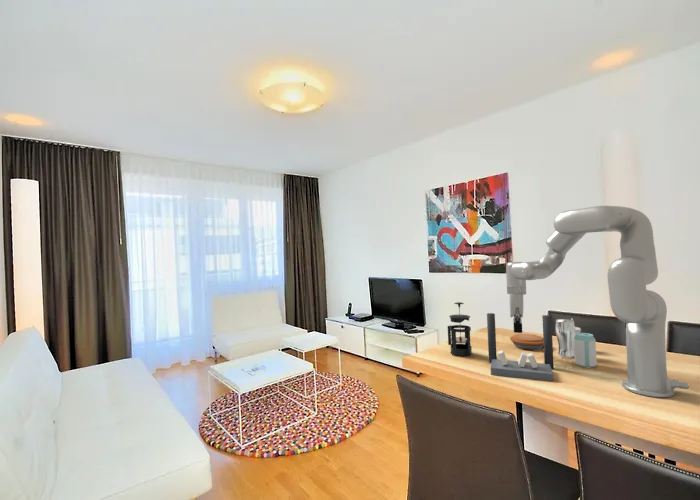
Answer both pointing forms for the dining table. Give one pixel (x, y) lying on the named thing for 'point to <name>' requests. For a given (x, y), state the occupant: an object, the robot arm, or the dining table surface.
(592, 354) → the can
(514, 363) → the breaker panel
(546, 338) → the rod
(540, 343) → the pie
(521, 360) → the middle paddle
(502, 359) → the paddle
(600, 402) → the dining table surface
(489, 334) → the rod
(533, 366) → the paddle
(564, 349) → the beer glass
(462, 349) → the french press
